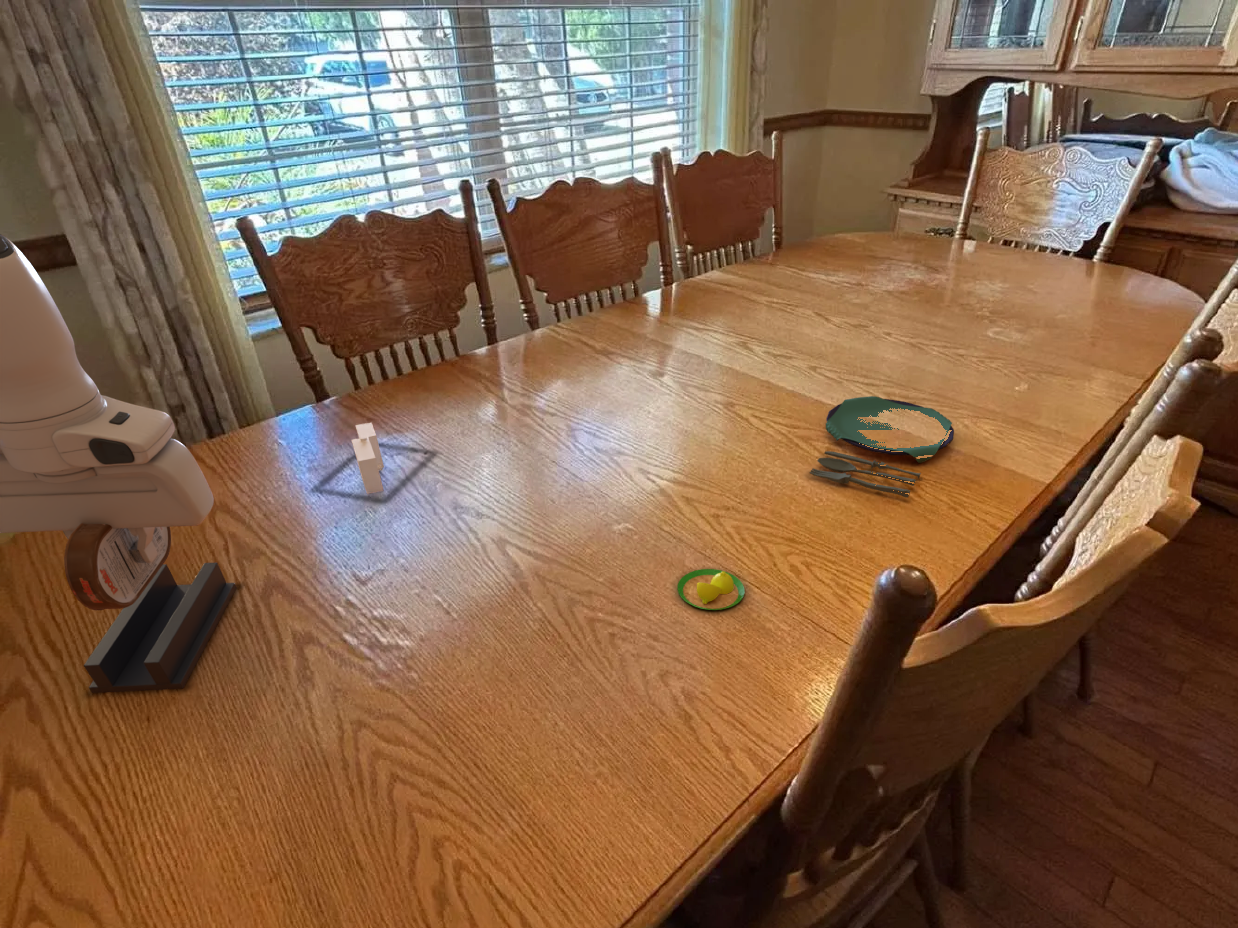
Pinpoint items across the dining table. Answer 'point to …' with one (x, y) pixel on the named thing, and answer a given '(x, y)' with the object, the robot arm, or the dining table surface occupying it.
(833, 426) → the cutlery set
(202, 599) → the holder
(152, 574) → the tin
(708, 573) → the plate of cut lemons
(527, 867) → the dining table surface
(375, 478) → the beige double block
